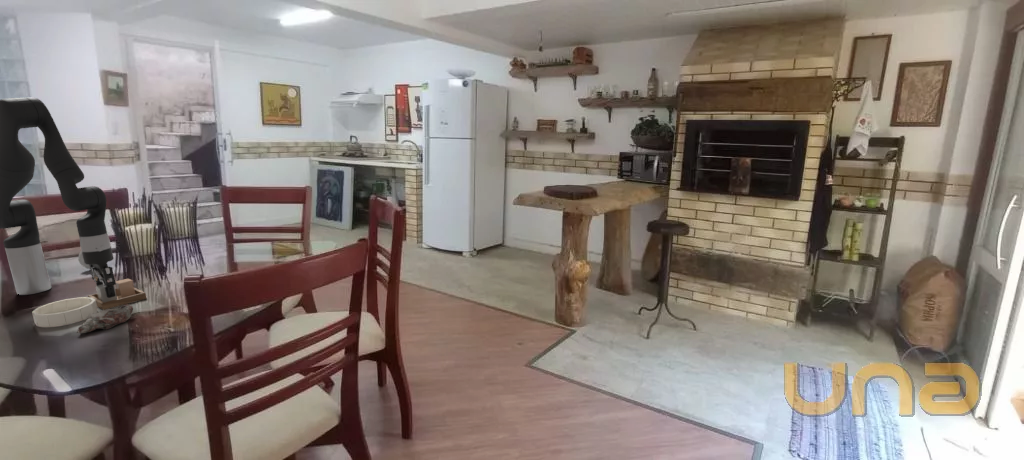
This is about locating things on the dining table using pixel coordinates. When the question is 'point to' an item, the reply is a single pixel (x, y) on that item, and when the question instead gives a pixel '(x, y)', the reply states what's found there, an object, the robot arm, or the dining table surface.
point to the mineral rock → (106, 318)
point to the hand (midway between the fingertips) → (106, 294)
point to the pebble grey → (104, 294)
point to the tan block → (125, 288)
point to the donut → (82, 261)
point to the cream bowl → (64, 312)
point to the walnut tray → (119, 300)
